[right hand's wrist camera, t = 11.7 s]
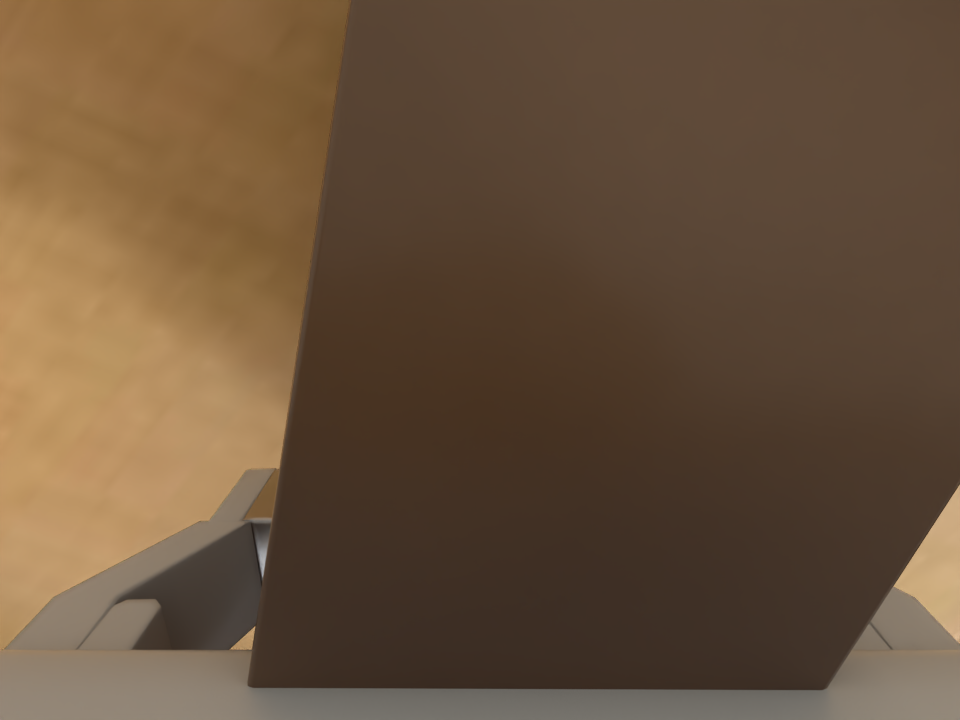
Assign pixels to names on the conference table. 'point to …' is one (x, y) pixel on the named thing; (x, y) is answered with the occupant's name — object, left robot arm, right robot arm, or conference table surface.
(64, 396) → the conference table surface
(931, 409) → the bar
